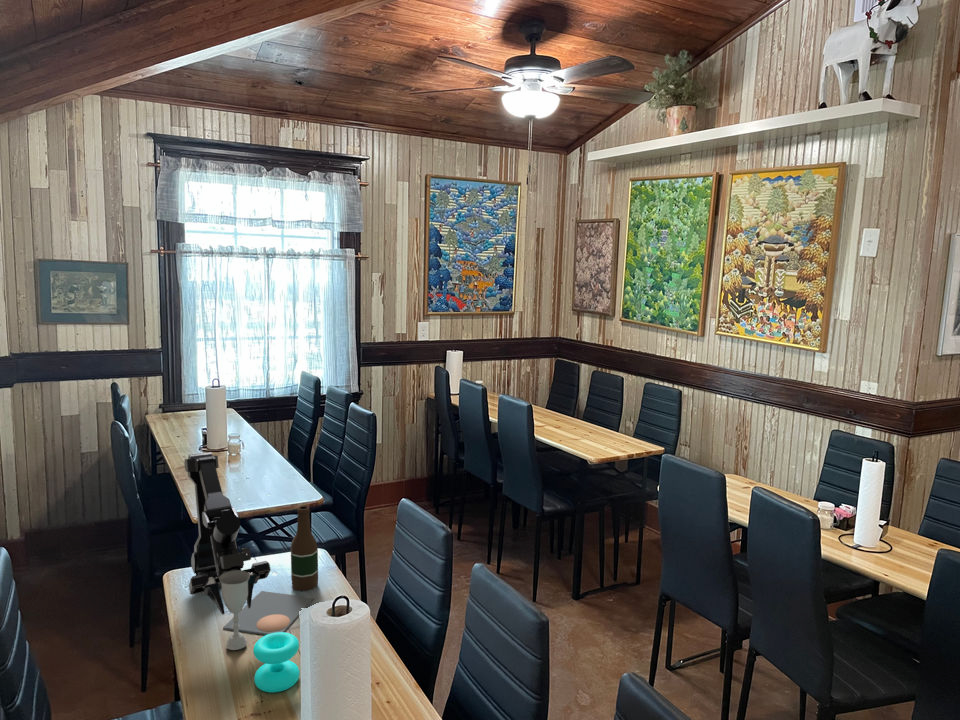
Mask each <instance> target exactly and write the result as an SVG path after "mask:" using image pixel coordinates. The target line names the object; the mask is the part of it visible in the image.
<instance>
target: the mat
mask: <svg viewBox="0 0 960 720" xmlns="http://www.w3.org/2000/svg"><path fill="white" fill-rule="evenodd" d="M314 600H315V598H314V597H311V596H305V595H303V596H302V595H296V594H295V595H294V594H288V593H280V592H273V591H265V590H261V591H260V592H259V593H258V594H257V595H256V596H255V597H253V598H252V600H251V607H250V608H248V605H247V604H245V605H244V606H243V608H242V610H241V612H239V613H238V618H239V620H238V624H239V625H240V627H239V628H238V632H240V633H249V634H255V635H263V636H265V635H268V634H271V633H275V632H286V631H288V629H289V628H290V627H291V626H292V625H293V624H294V622H295V621H296V620H297V619H298V618H299V617H300V615H299V611H301V610H302V609H301V608H306V607H307V608H308V606H309V605H311V603H312V602H313V601H314ZM310 602H311V603H310ZM307 608H306V609H307ZM297 617H298V618H297ZM232 619H233V617H232V618H231V619H230V620H229V621H228V622H227V623H226V624H225V625H224V626H223V628H222V630H226V629H227V630H226V631H233V630H234V628H233V627H232V626H233V625H234V621H233V620H232Z"/></svg>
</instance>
